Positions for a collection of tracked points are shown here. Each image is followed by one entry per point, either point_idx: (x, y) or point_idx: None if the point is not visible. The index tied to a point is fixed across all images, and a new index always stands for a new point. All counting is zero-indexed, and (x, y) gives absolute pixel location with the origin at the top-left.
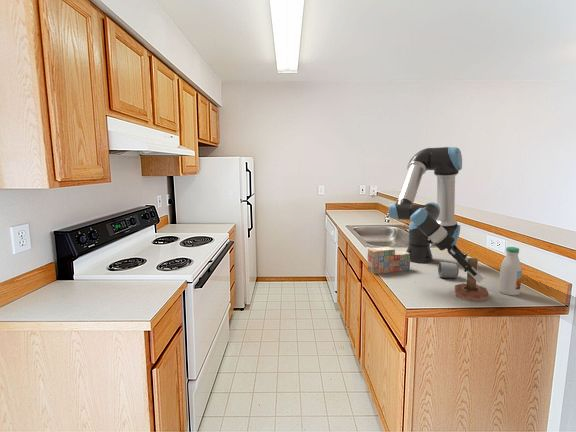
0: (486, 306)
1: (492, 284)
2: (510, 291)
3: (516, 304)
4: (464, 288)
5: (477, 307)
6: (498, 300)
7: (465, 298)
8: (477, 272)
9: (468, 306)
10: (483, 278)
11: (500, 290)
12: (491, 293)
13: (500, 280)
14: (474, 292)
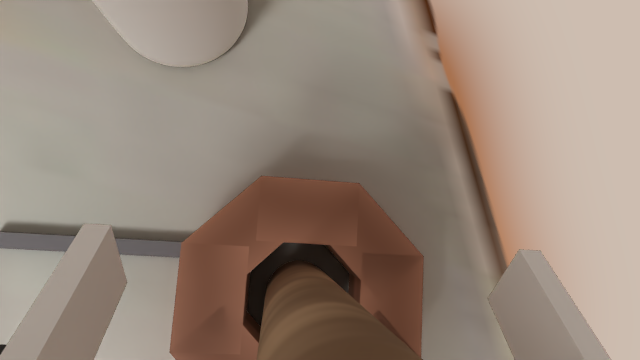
0: (478, 231)
1: (5, 65)
2: (245, 6)
3: (396, 41)
4: None
5: None
6: (354, 127)
7: None
8: (601, 353)
9: None
10: (540, 259)
11: (196, 61)
12: (225, 133)
13: (166, 22)
14: (393, 293)
